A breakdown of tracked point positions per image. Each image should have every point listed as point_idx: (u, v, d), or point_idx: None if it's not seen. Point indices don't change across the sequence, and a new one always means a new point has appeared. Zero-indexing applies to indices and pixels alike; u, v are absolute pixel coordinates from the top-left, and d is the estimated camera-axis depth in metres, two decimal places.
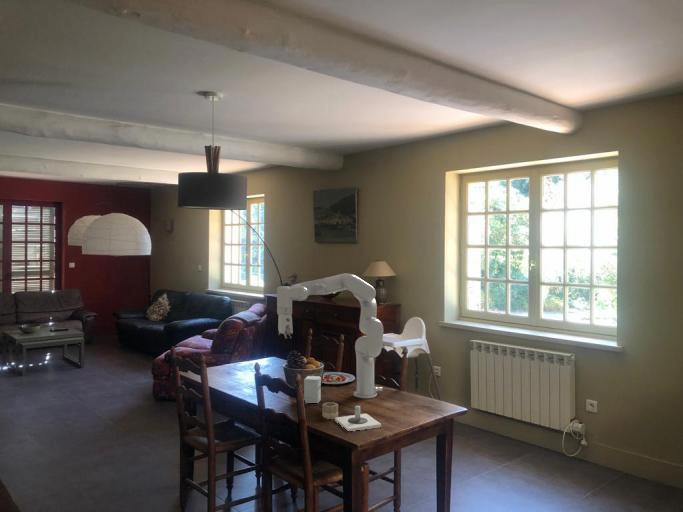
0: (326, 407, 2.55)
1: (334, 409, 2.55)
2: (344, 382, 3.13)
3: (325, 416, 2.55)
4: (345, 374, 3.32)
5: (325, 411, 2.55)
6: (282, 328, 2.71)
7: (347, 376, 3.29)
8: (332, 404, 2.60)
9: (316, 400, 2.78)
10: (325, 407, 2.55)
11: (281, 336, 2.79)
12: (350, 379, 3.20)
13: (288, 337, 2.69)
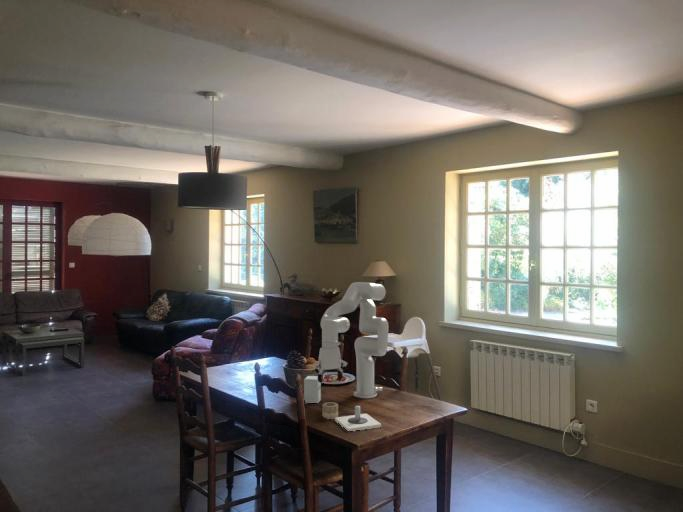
0: (326, 407, 2.55)
1: (334, 409, 2.55)
2: (344, 382, 3.13)
3: (325, 416, 2.55)
4: (345, 374, 3.32)
5: (325, 411, 2.55)
6: (338, 362, 2.56)
7: (347, 376, 3.29)
8: (332, 404, 2.60)
9: (316, 400, 2.78)
10: (325, 407, 2.55)
11: None
12: (350, 379, 3.20)
13: None
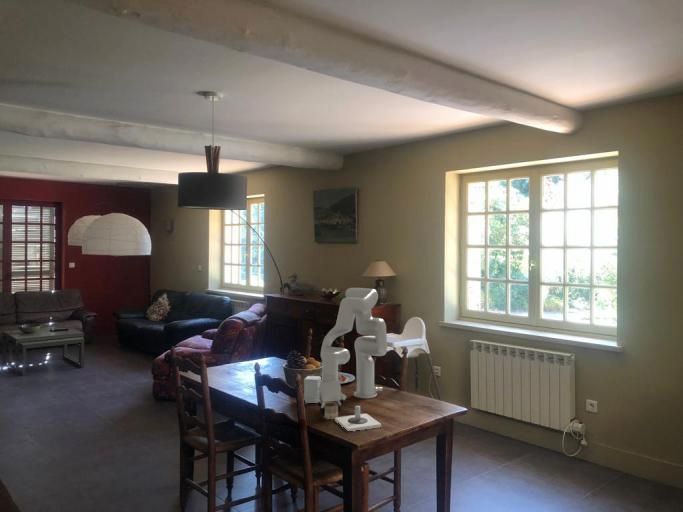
0: (326, 407, 2.55)
1: (334, 409, 2.55)
2: (344, 382, 3.13)
3: (325, 416, 2.55)
4: (345, 374, 3.32)
5: (325, 411, 2.55)
6: (338, 395, 2.57)
7: (347, 376, 3.29)
8: (332, 404, 2.60)
9: None
10: (325, 407, 2.55)
11: None
12: (350, 379, 3.20)
13: None
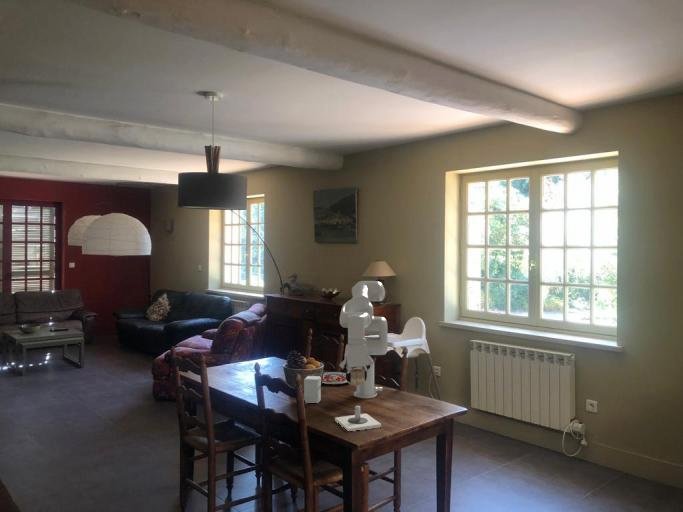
0: (352, 372, 2.45)
1: (361, 375, 2.45)
2: (344, 382, 3.13)
3: (351, 382, 2.45)
4: (345, 374, 3.32)
5: (351, 377, 2.45)
6: (364, 360, 2.47)
7: None
8: (358, 370, 2.50)
9: (316, 400, 2.78)
10: (351, 372, 2.45)
11: None
12: None
13: None
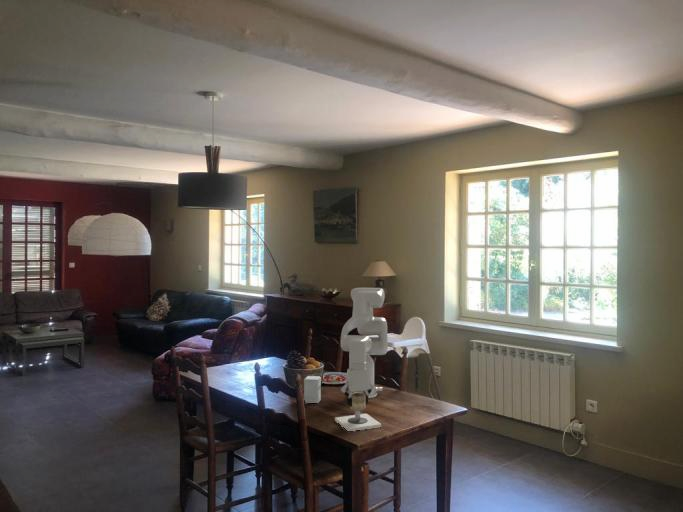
0: (354, 397, 2.44)
1: (362, 399, 2.45)
2: (344, 382, 3.13)
3: (352, 406, 2.45)
4: (345, 374, 3.32)
5: (352, 401, 2.45)
6: (366, 384, 2.47)
7: None
8: (359, 394, 2.49)
9: (316, 400, 2.78)
10: (352, 397, 2.45)
11: None
12: None
13: None
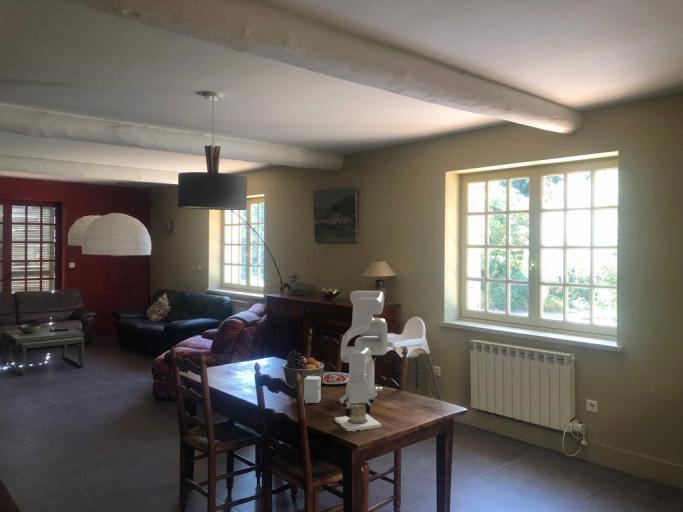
0: (354, 410, 2.45)
1: (362, 412, 2.45)
2: (344, 382, 3.13)
3: (352, 420, 2.45)
4: (345, 374, 3.32)
5: (352, 414, 2.45)
6: (366, 396, 2.47)
7: (347, 376, 3.29)
8: None
9: (316, 400, 2.78)
10: (352, 410, 2.45)
11: None
12: None
13: None
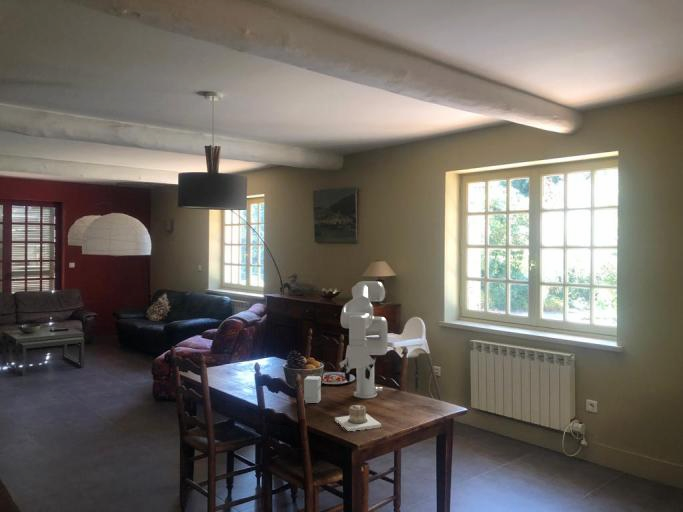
0: (354, 410, 2.45)
1: (362, 412, 2.45)
2: (344, 382, 3.13)
3: (352, 420, 2.45)
4: None
5: (352, 414, 2.45)
6: (366, 360, 2.46)
7: None
8: None
9: (316, 400, 2.78)
10: (352, 410, 2.45)
11: None
12: (350, 379, 3.20)
13: None
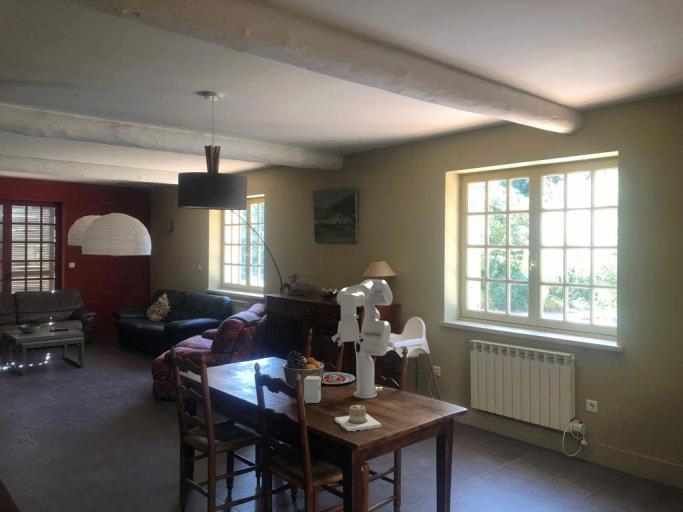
0: (354, 410, 2.45)
1: (362, 412, 2.45)
2: (344, 382, 3.13)
3: (352, 420, 2.45)
4: (345, 374, 3.32)
5: (352, 414, 2.45)
6: (356, 335, 2.66)
7: (347, 376, 3.29)
8: None
9: (316, 400, 2.78)
10: (352, 410, 2.45)
11: None
12: (350, 379, 3.20)
13: None
